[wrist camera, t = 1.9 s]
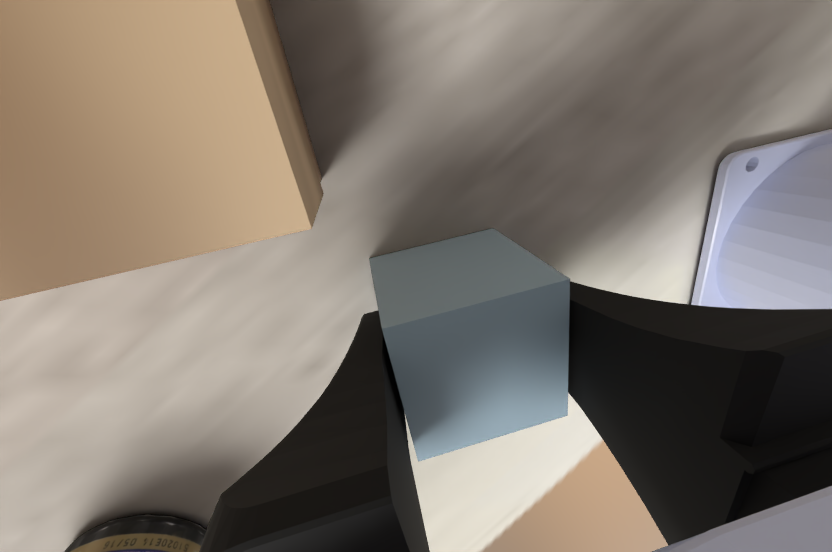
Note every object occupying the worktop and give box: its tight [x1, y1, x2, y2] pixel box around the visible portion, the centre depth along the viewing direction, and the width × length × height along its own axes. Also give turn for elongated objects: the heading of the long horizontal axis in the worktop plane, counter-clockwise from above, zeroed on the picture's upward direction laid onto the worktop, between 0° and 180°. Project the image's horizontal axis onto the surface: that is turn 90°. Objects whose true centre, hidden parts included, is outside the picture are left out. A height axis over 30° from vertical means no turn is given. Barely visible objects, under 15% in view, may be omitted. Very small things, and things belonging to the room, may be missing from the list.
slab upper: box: [0, 0, 323, 301], centre depth 5 cm, size 6×6×3 cm
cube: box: [369, 228, 570, 462], centre depth 11 cm, size 4×4×4 cm
